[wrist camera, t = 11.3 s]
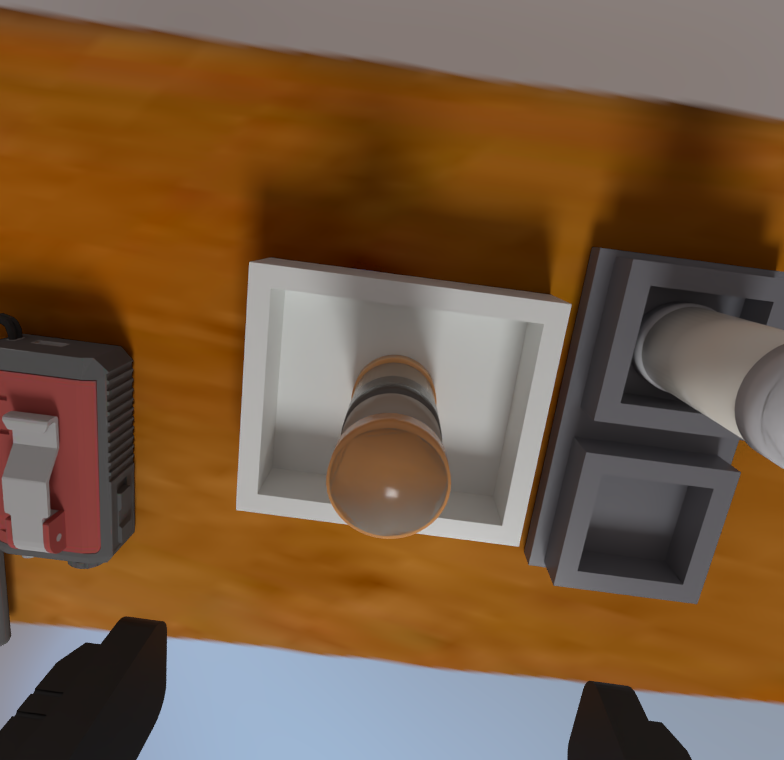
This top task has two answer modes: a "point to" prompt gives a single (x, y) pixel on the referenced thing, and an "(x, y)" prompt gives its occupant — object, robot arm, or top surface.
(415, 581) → the top surface
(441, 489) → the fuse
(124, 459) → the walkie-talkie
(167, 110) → the top surface
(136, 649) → the robot arm
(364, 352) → the parts tray
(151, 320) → the top surface
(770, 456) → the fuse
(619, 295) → the fuse block
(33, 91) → the top surface
